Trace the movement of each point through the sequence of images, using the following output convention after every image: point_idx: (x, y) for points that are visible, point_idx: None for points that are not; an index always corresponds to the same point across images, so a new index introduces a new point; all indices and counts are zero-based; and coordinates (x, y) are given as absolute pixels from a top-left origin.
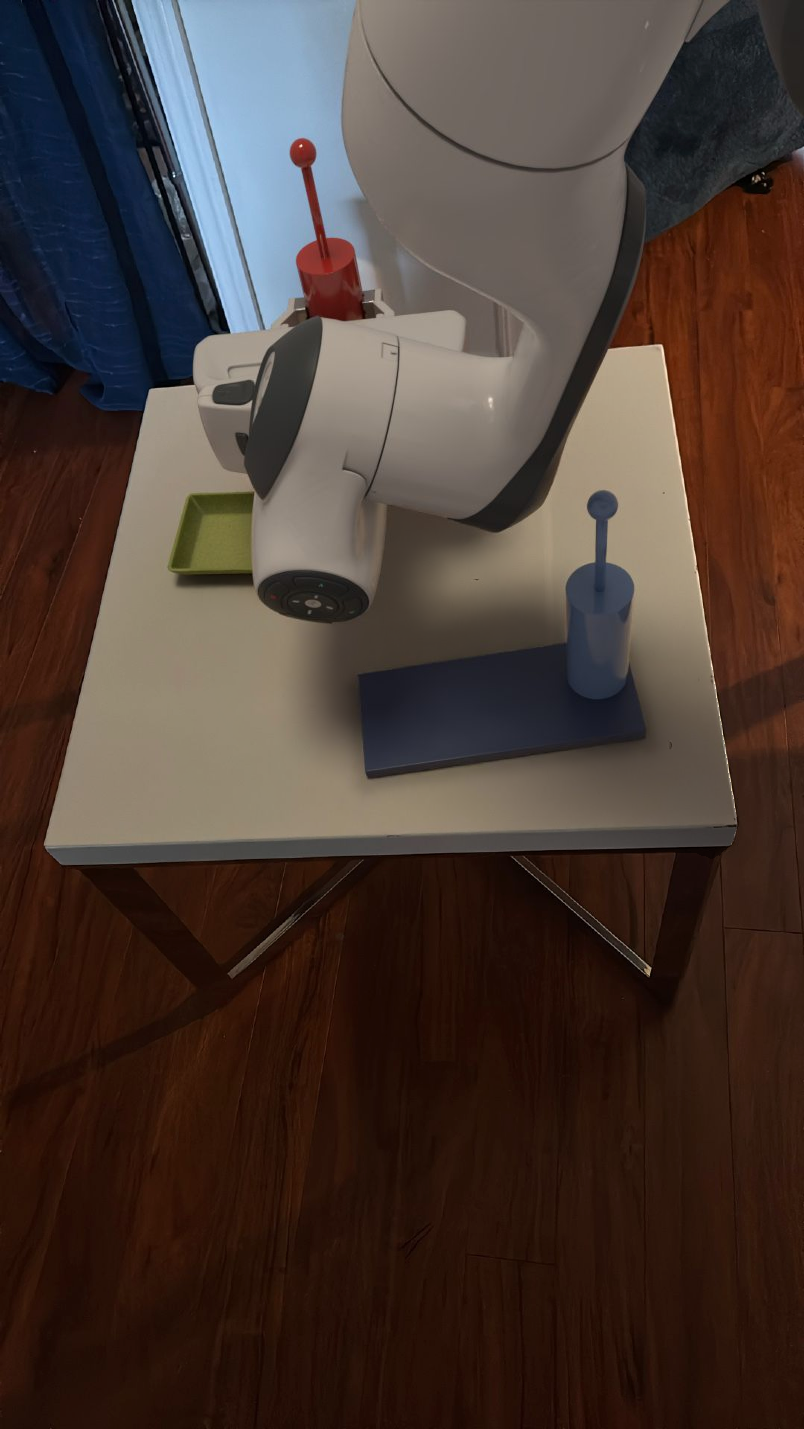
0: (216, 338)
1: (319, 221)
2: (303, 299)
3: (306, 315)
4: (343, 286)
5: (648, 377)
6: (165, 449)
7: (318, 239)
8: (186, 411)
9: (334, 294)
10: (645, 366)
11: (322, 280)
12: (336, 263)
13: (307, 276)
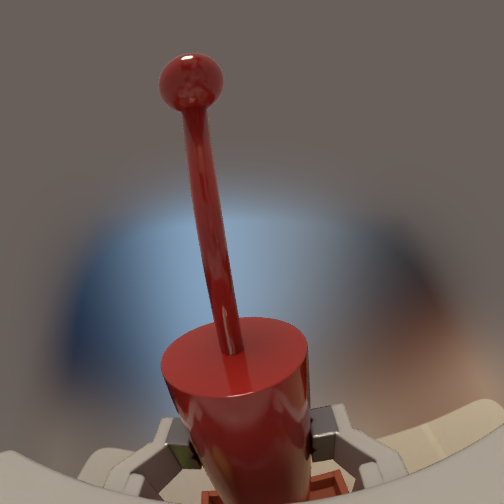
0: (10, 461)
1: (220, 257)
2: None
3: (191, 453)
4: (281, 421)
5: (497, 406)
6: None
7: (215, 308)
8: (110, 459)
9: (255, 439)
10: (490, 400)
11: (222, 411)
12: (263, 367)
13: (180, 397)
